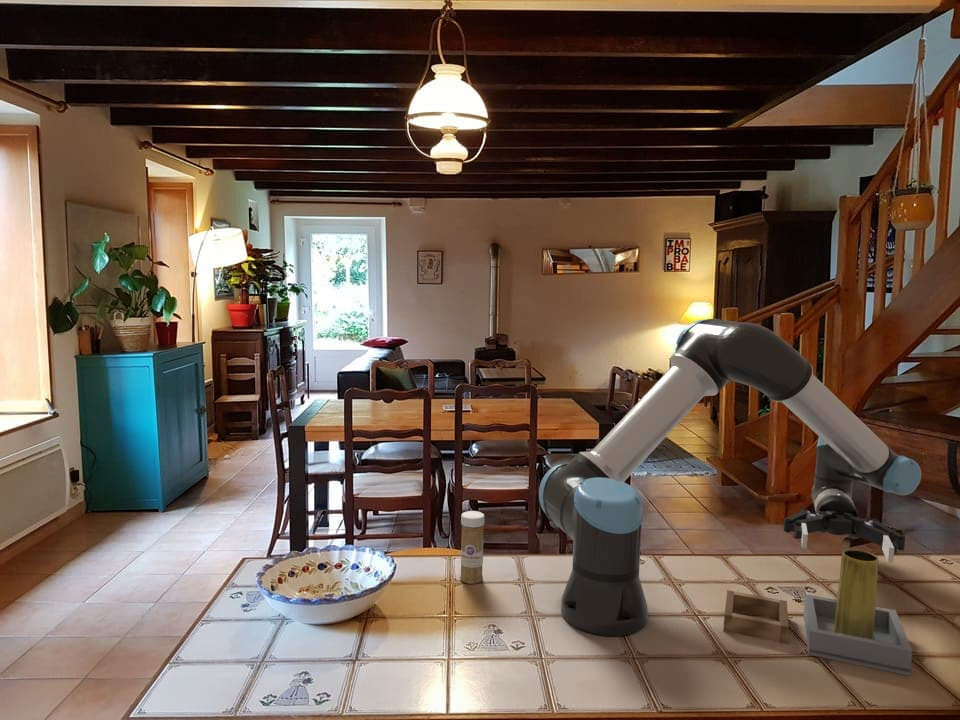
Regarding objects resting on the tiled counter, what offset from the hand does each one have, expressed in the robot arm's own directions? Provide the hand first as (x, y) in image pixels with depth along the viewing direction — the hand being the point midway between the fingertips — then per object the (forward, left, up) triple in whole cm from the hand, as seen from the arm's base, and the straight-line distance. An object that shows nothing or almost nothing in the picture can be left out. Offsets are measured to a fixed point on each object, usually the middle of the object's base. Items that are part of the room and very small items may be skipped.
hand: (847, 548), depth 119 cm
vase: (+1, -10, -12) cm, 15 cm away
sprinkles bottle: (-66, -15, -13) cm, 69 cm away
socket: (-14, -10, -13) cm, 22 cm away
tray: (+1, -10, -13) cm, 16 cm away
